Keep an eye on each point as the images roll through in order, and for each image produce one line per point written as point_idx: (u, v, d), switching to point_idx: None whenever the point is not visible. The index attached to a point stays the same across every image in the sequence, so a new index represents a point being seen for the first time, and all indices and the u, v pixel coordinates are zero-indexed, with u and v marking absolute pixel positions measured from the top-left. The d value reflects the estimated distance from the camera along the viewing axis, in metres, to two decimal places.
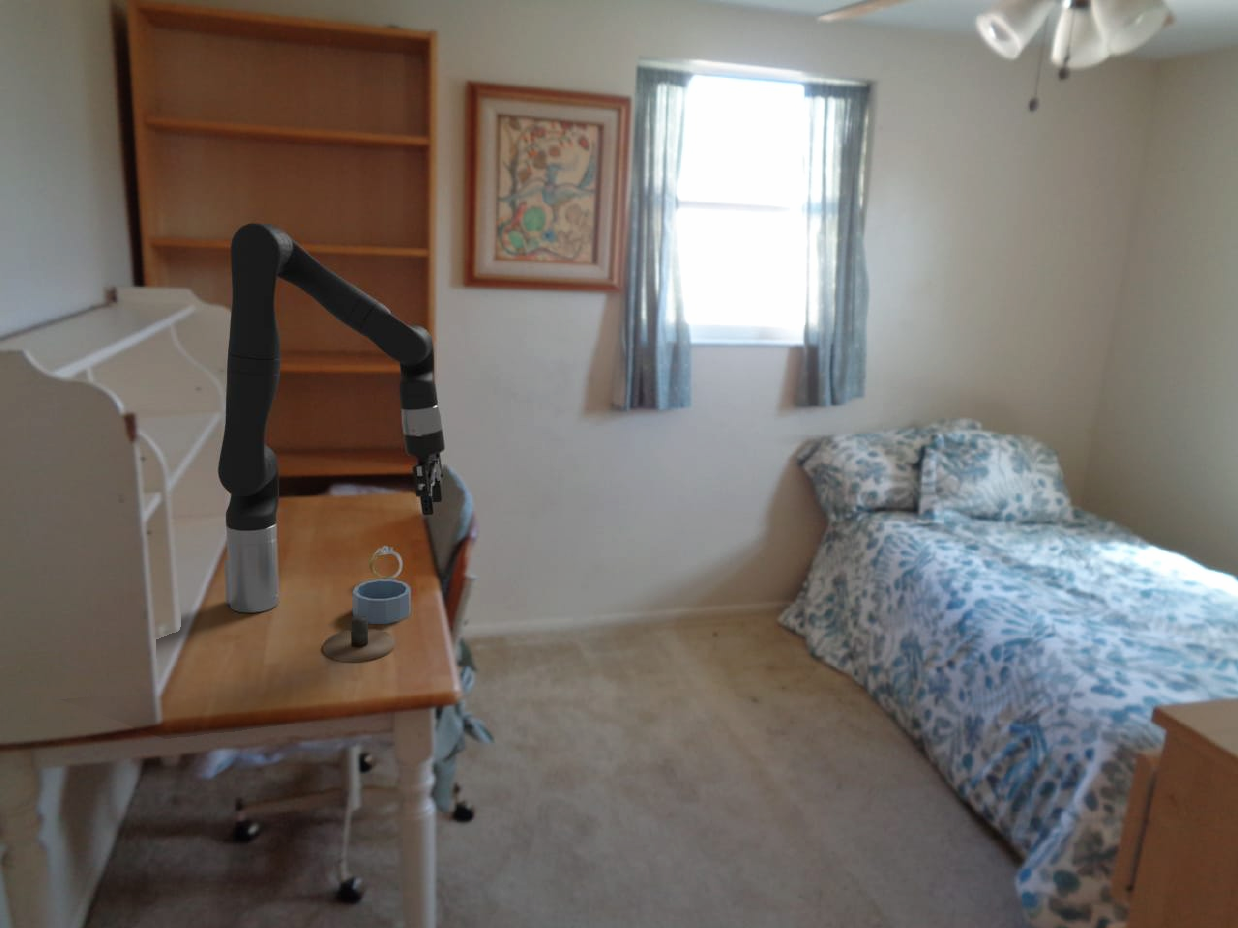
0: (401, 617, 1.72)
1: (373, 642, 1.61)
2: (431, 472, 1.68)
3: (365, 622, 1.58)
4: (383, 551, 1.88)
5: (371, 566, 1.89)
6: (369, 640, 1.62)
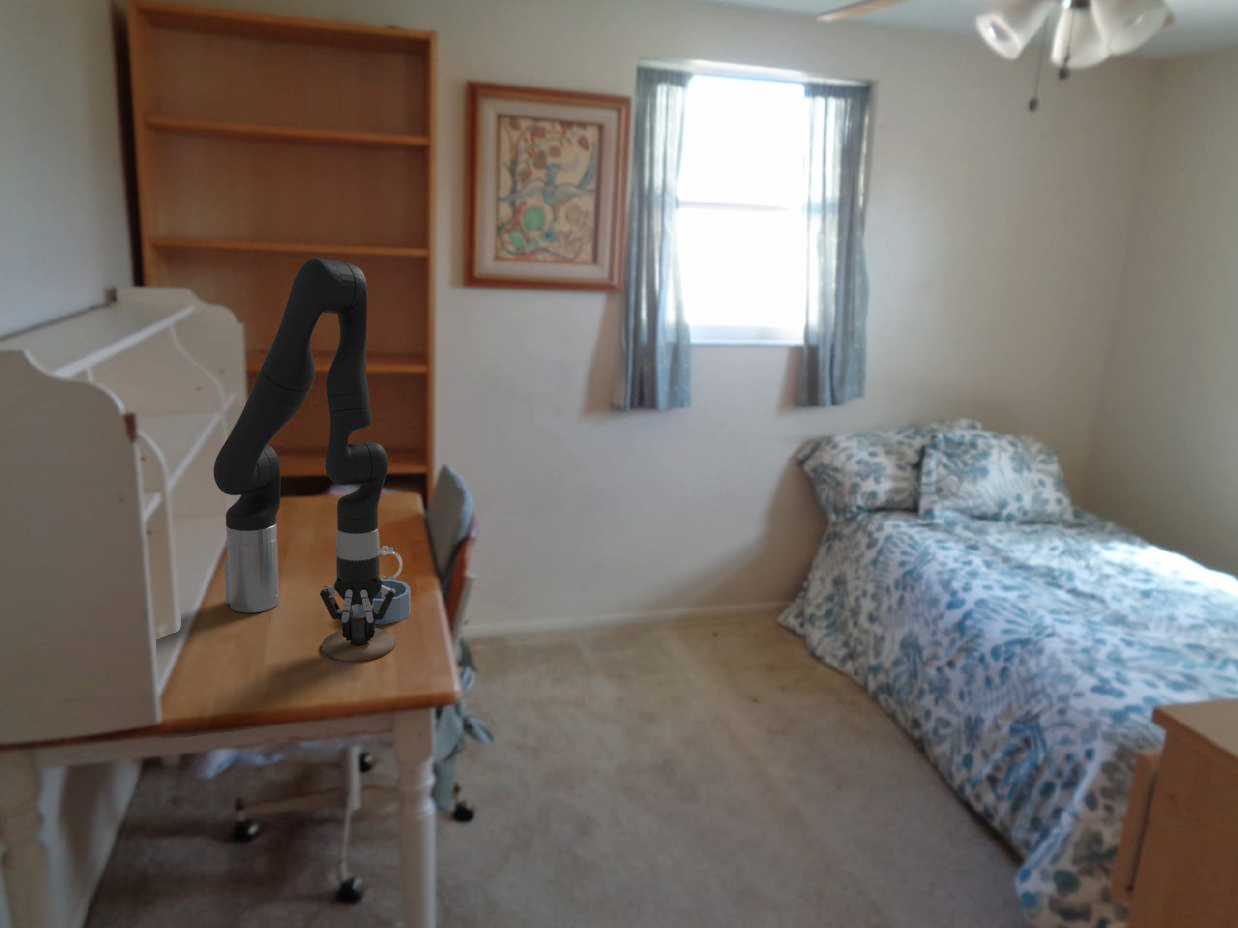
0: (401, 617, 1.72)
1: (372, 640, 1.61)
2: (344, 598, 1.56)
3: (364, 620, 1.58)
4: (383, 551, 1.88)
5: None
6: None
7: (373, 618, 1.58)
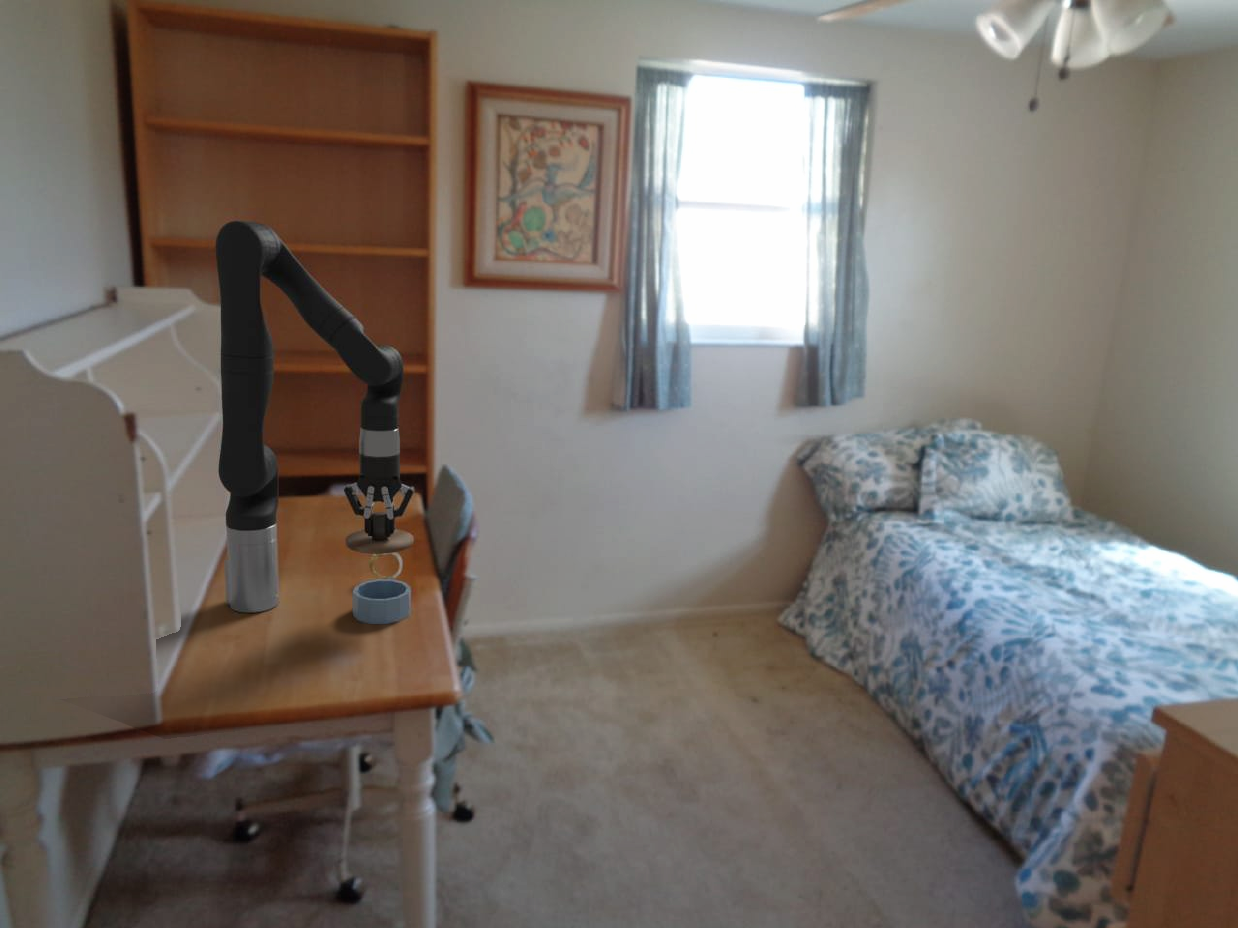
0: (401, 617, 1.72)
1: (392, 538, 1.71)
2: (367, 495, 1.66)
3: (385, 517, 1.68)
4: None
5: (371, 566, 1.89)
6: None
7: (393, 515, 1.68)
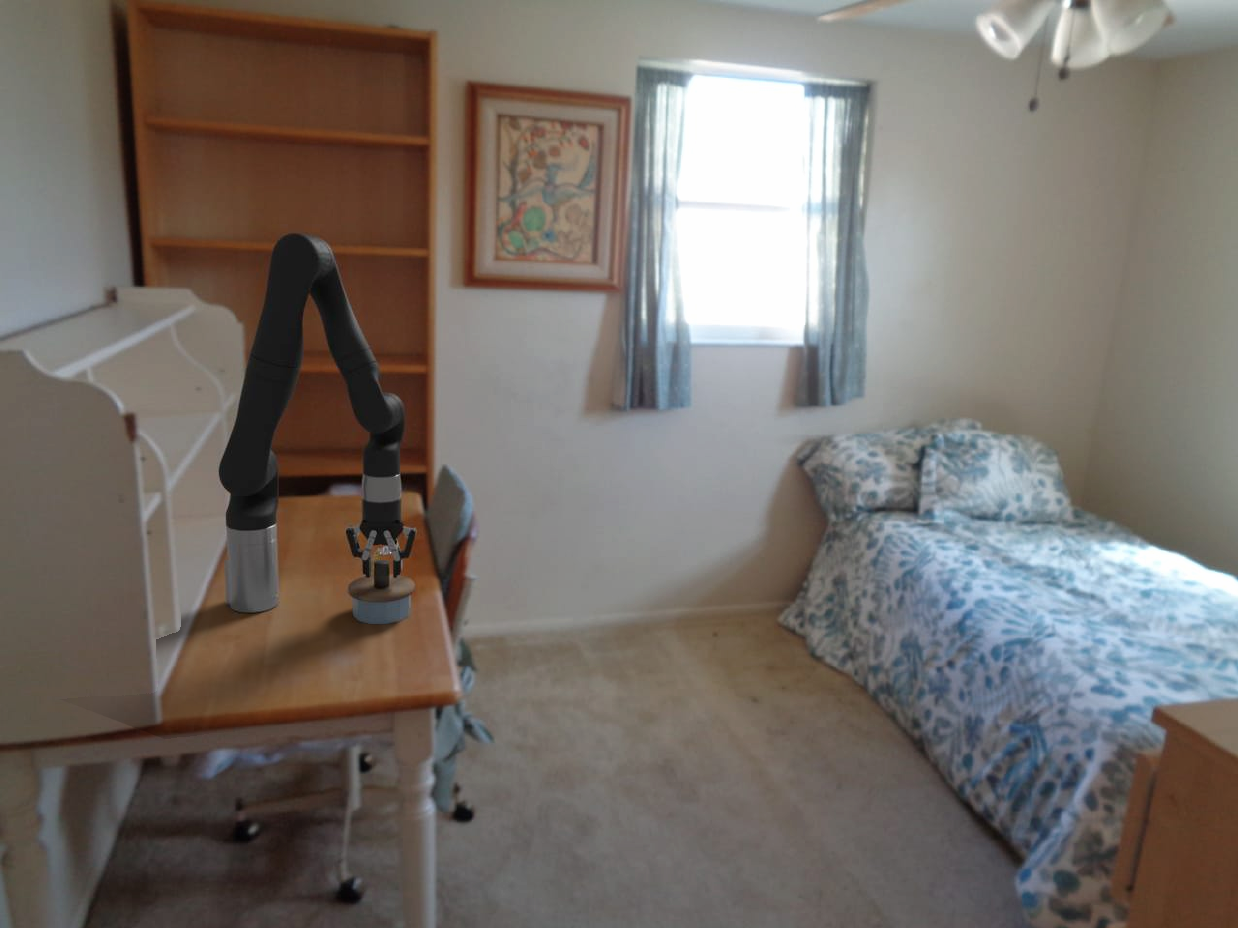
0: (401, 617, 1.72)
1: (394, 584, 1.75)
2: (368, 538, 1.70)
3: (387, 565, 1.72)
4: (383, 551, 1.88)
5: (371, 566, 1.89)
6: (390, 583, 1.75)
7: (400, 557, 1.72)
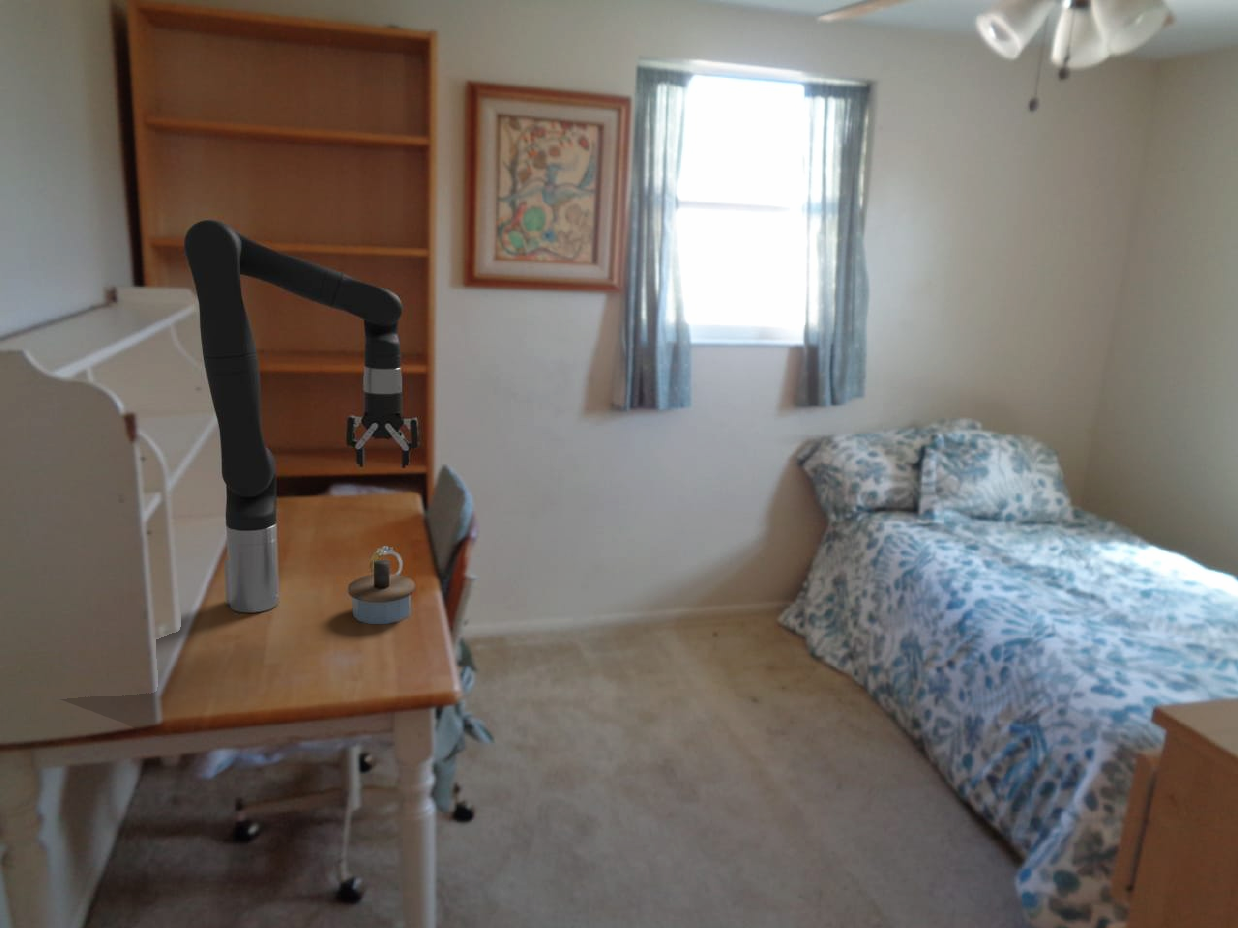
0: (401, 617, 1.72)
1: (394, 584, 1.75)
2: (368, 429, 1.74)
3: (387, 565, 1.72)
4: (383, 551, 1.88)
5: (371, 566, 1.89)
6: (390, 583, 1.75)
7: (408, 447, 1.76)
